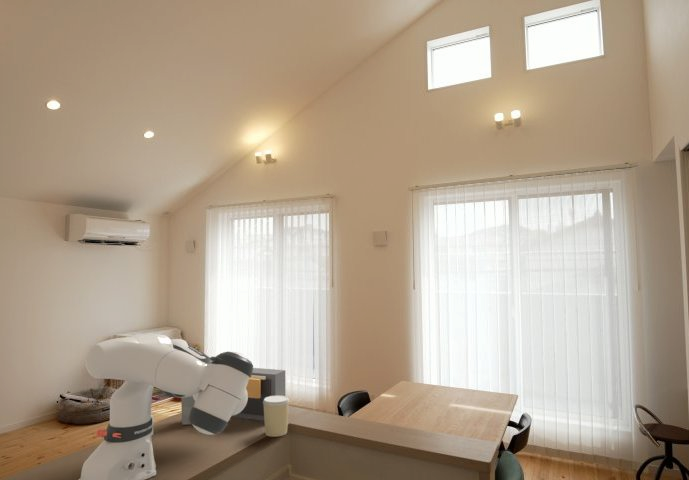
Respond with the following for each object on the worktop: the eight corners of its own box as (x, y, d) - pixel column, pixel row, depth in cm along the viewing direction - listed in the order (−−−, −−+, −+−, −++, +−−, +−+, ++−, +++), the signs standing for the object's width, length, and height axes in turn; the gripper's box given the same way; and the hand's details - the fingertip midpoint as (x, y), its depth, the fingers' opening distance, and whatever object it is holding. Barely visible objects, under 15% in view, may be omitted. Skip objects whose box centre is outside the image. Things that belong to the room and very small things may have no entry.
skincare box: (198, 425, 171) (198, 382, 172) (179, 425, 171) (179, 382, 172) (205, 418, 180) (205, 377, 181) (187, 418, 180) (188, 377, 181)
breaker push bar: (258, 398, 172) (258, 379, 173) (223, 394, 178) (223, 376, 179) (262, 396, 175) (262, 378, 176) (228, 393, 181) (228, 375, 181)
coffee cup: (285, 426, 168) (284, 393, 169) (292, 435, 160) (292, 400, 161) (260, 430, 165) (260, 397, 166) (266, 439, 156) (266, 403, 157)
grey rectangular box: (274, 422, 173) (274, 375, 174) (217, 415, 182) (218, 370, 183) (285, 415, 181) (285, 370, 182) (230, 409, 190) (231, 366, 192)
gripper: (187, 382, 162) (212, 373, 174) (235, 387, 154) (257, 378, 167) (187, 364, 162) (212, 357, 175) (235, 368, 154) (257, 361, 167)
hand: (235, 367), depth 171 cm, fingers open, 8 cm apart
